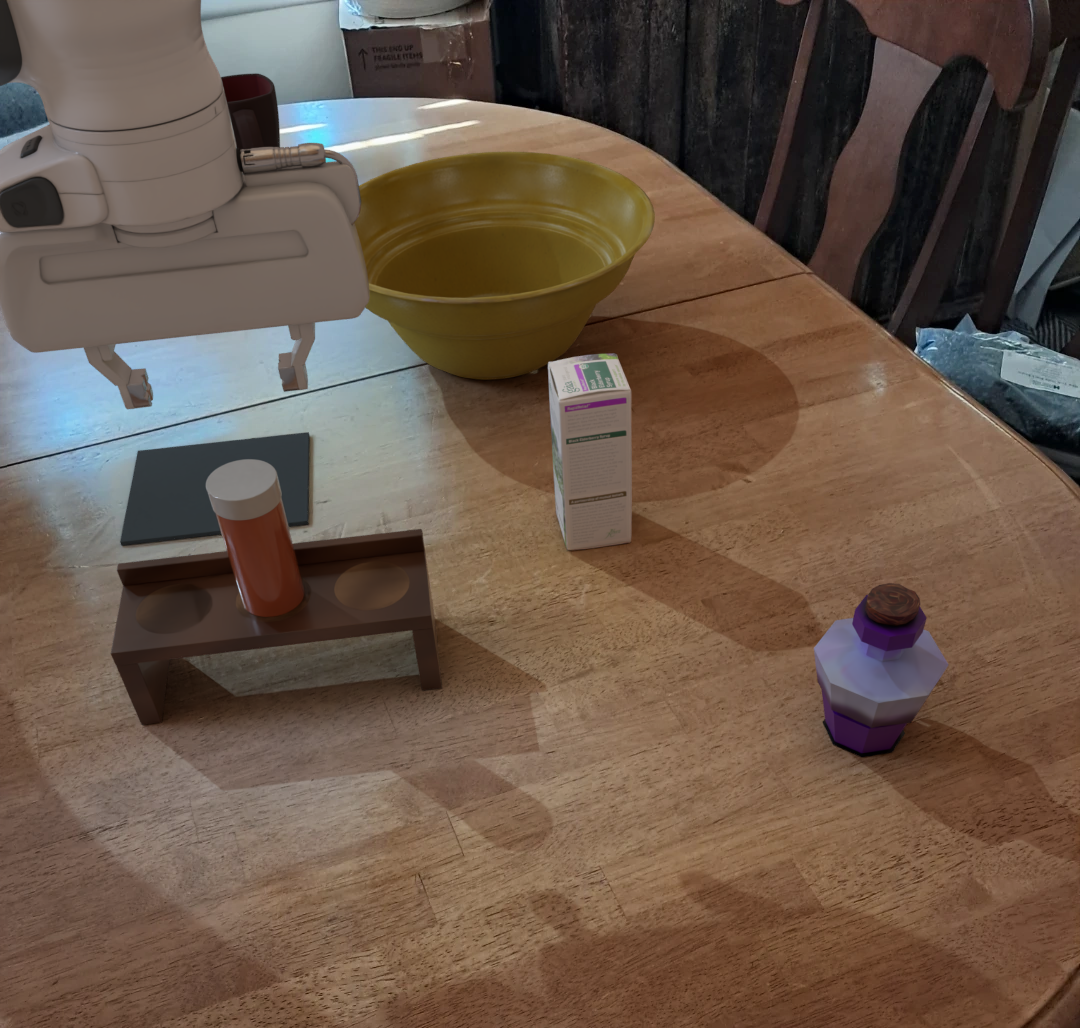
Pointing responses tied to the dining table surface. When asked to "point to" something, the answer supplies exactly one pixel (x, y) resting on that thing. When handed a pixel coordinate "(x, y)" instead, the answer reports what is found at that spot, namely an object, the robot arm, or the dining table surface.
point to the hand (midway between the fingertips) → (218, 394)
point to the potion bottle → (877, 671)
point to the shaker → (256, 536)
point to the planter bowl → (497, 255)
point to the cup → (252, 110)
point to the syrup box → (591, 450)
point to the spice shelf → (226, 626)
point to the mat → (180, 485)
